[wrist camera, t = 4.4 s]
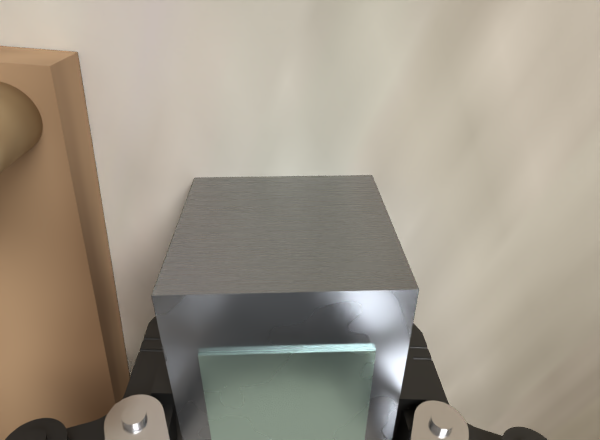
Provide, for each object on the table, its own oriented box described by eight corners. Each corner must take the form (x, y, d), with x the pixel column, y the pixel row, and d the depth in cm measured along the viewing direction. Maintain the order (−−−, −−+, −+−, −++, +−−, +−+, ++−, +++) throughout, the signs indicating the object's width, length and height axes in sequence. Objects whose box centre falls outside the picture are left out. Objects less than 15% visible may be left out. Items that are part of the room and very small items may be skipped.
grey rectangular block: (372, 175, 13) (420, 292, 8) (352, 386, 17) (376, 532, 13) (194, 177, 13) (150, 299, 8) (222, 390, 17) (202, 540, 13)
